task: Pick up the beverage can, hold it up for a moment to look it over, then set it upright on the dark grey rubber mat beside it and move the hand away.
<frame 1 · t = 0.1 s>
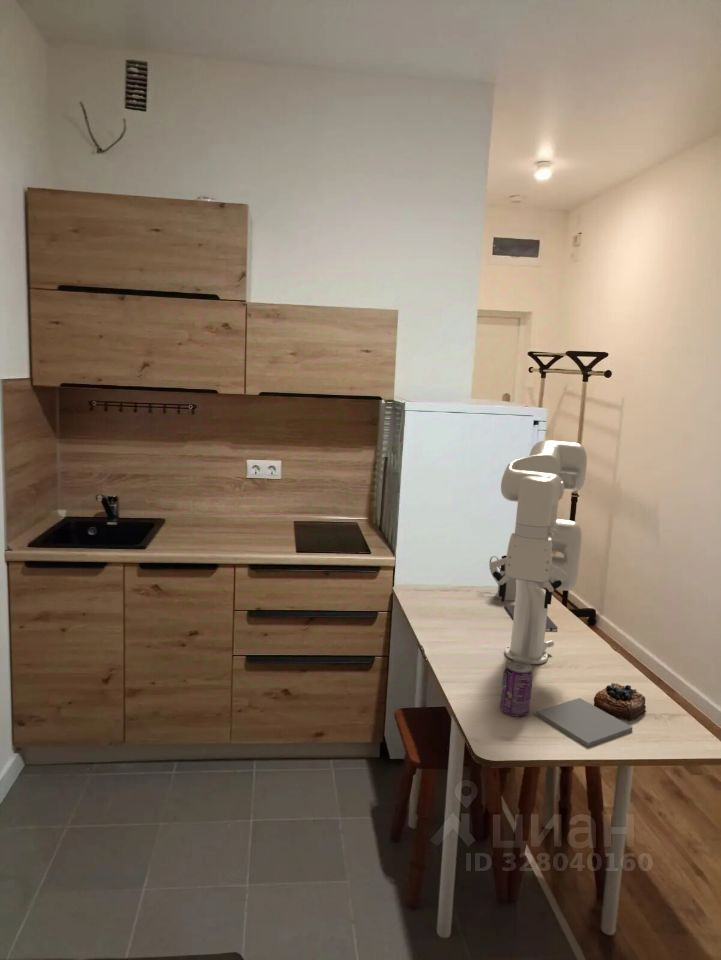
hand: (524, 603, 156), 31 cm above the table, tool pointing down, fingers open, 9 cm apart
beverage can: (514, 712, 169), on the table
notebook: (529, 620, 235), on the table
glass holder: (501, 594, 260), on the table
pastry: (619, 709, 174), on the table
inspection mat: (583, 722, 166), on the table
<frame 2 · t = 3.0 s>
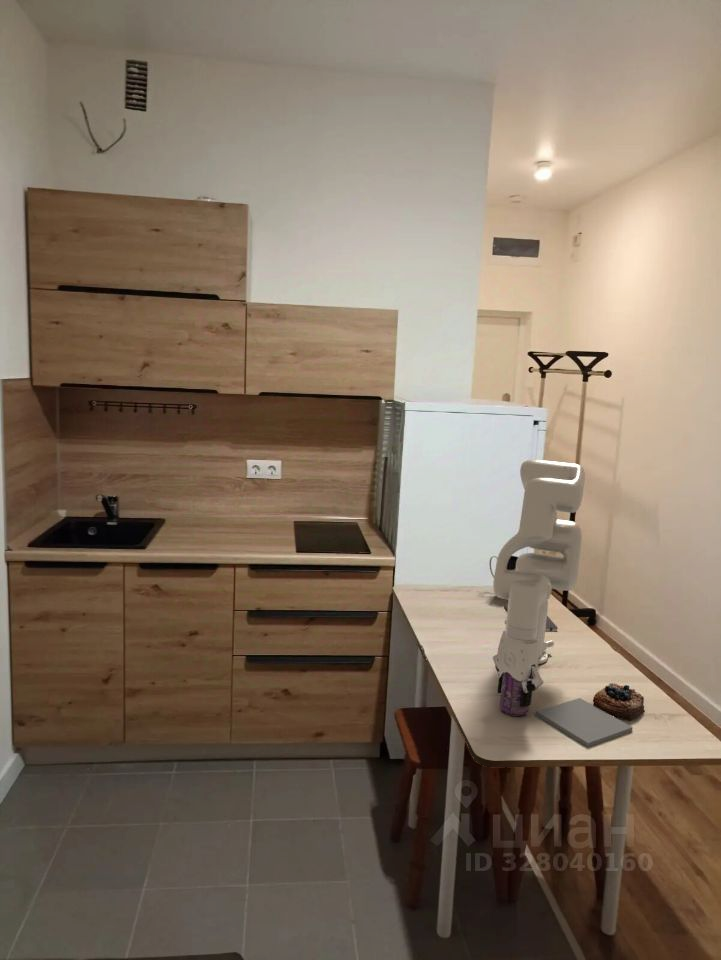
hand: (513, 698, 168), 3 cm above the table, tool pointing down, fingers closed on beverage can, 7 cm apart
beverage can: (513, 711, 169), on the table, touching gripper
everything else where it was.
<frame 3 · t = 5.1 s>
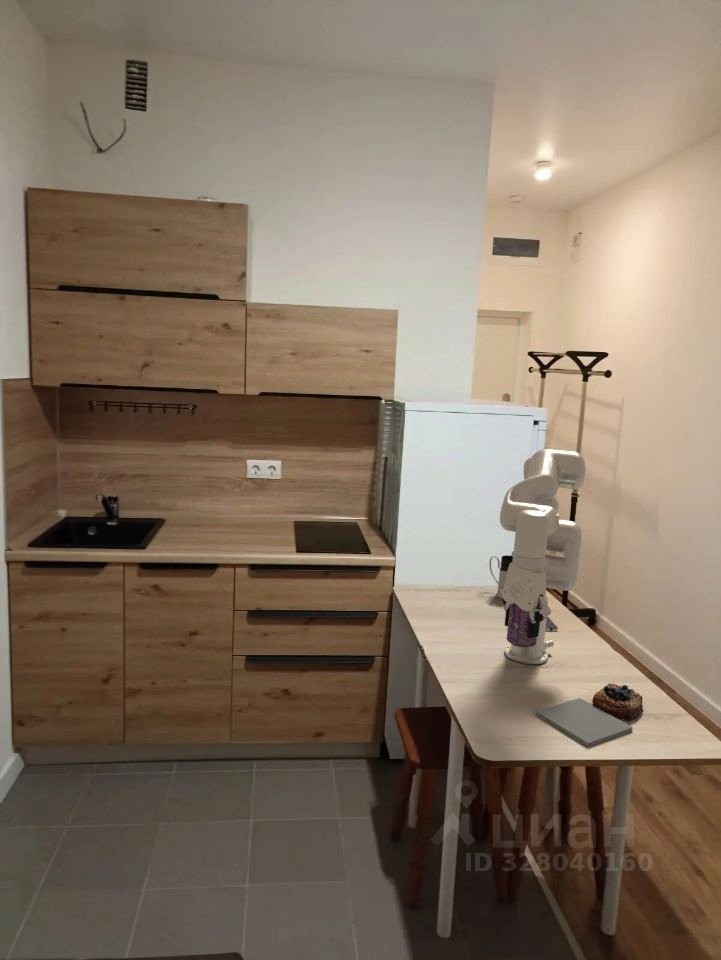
hand: (521, 630, 166), 21 cm above the table, tool pointing down, fingers closed on beverage can, 7 cm apart
beverage can: (520, 644, 167), point 17 cm above the table, touching gripper
everything else where it was.
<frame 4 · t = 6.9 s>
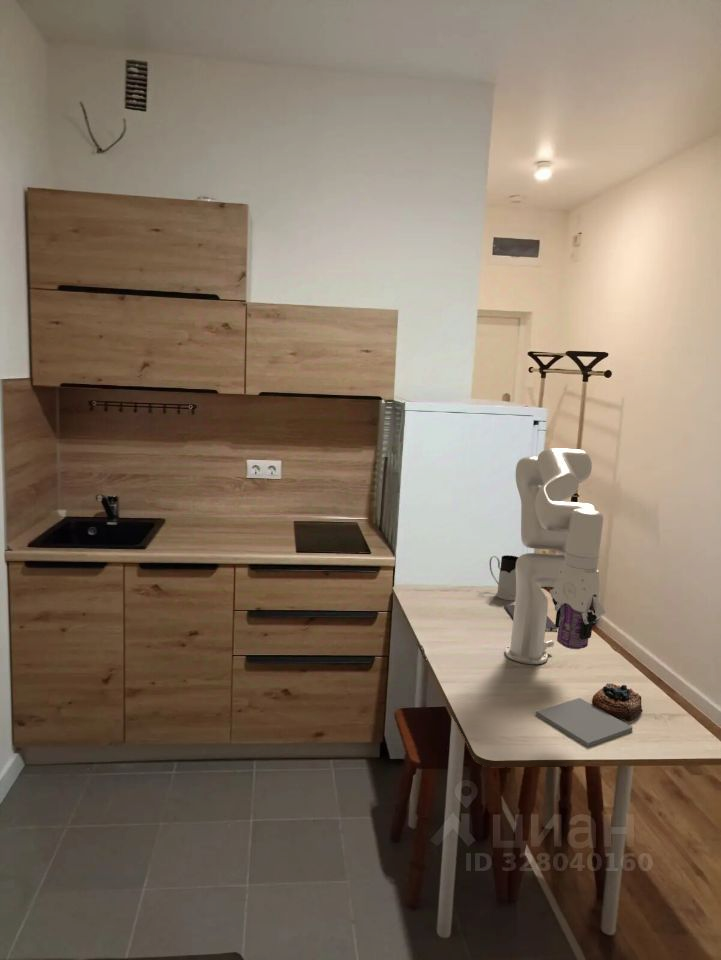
hand: (572, 631, 163), 23 cm above the table, tool pointing down, fingers closed on beverage can, 7 cm apart
beverage can: (571, 646, 164), point 19 cm above the table, touching gripper
everything else where it was.
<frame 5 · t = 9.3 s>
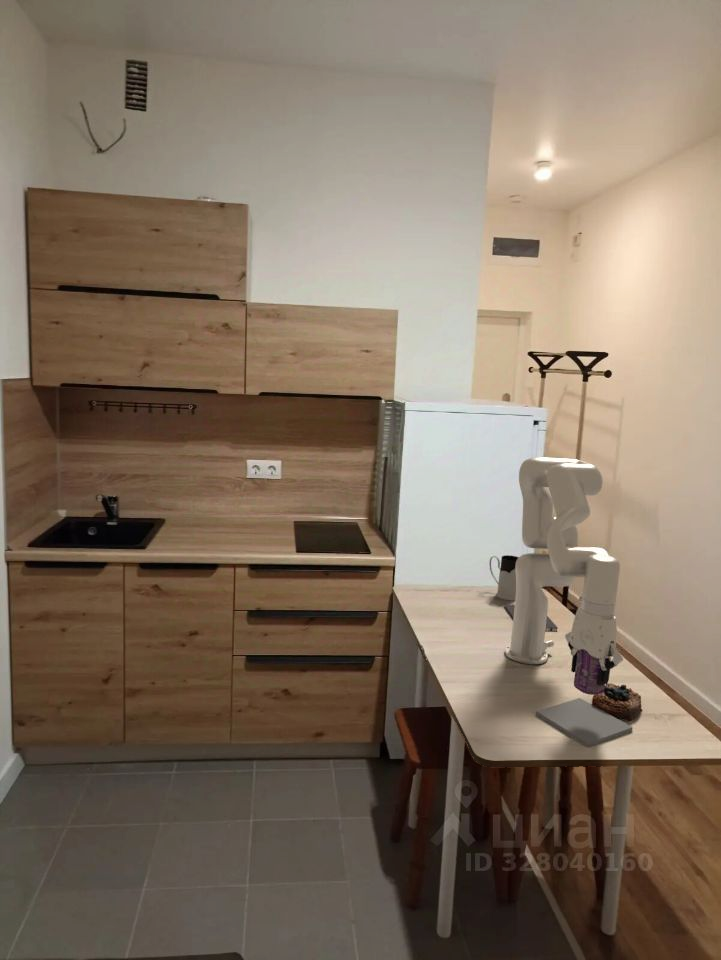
hand: (589, 676, 164), 12 cm above the table, tool pointing down, fingers closed on beverage can, 7 cm apart
beverage can: (588, 690, 164), point 8 cm above the table, touching gripper
everything else where it was.
when the fingers open (6 cm above the table, at t = 11.1 s): beverage can drops 1 cm, resting on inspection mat.
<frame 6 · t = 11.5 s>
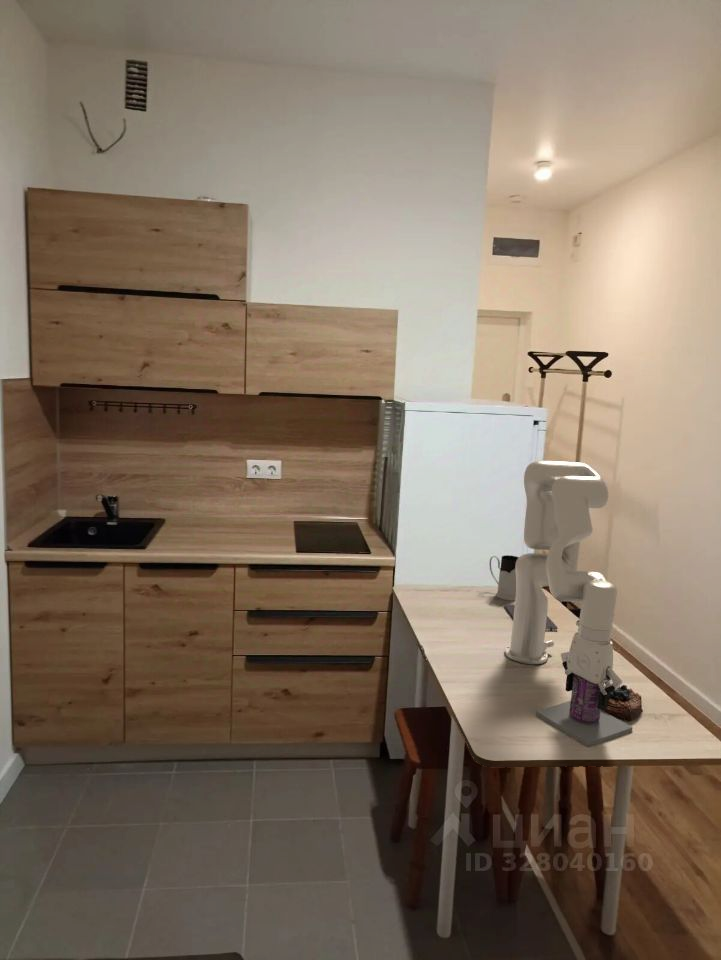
hand: (586, 698, 165), 6 cm above the table, tool pointing down, fingers open, 9 cm apart
beverage can: (583, 718, 166), point 1 cm above the table, touching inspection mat
everything else where it was.
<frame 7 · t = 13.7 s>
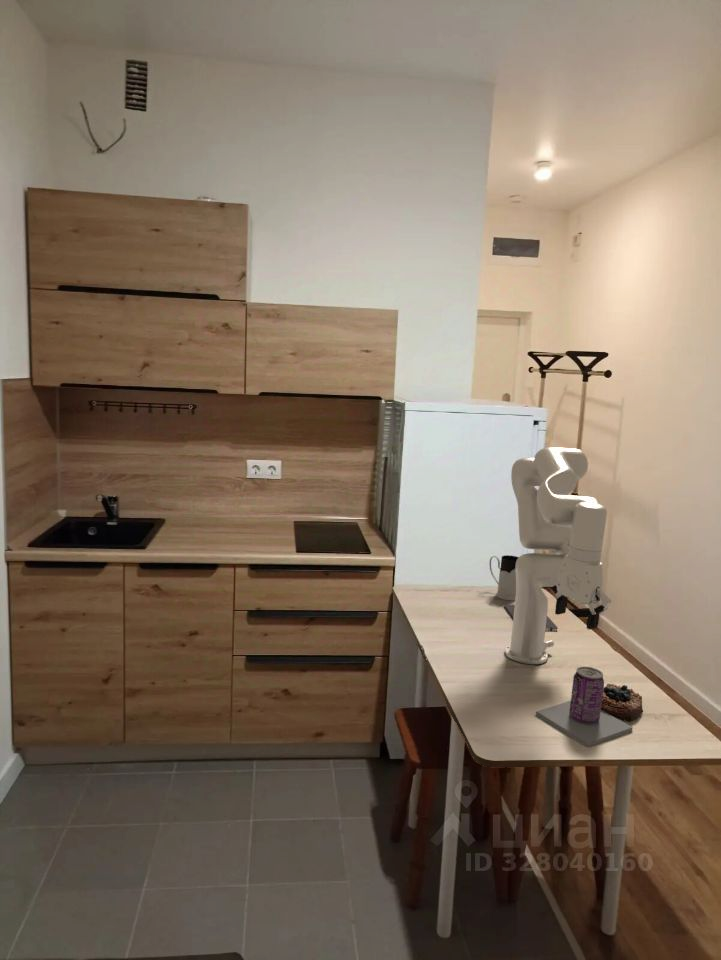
hand: (575, 620, 166), 24 cm above the table, tool pointing down, fingers open, 9 cm apart
nothing on the table moved.
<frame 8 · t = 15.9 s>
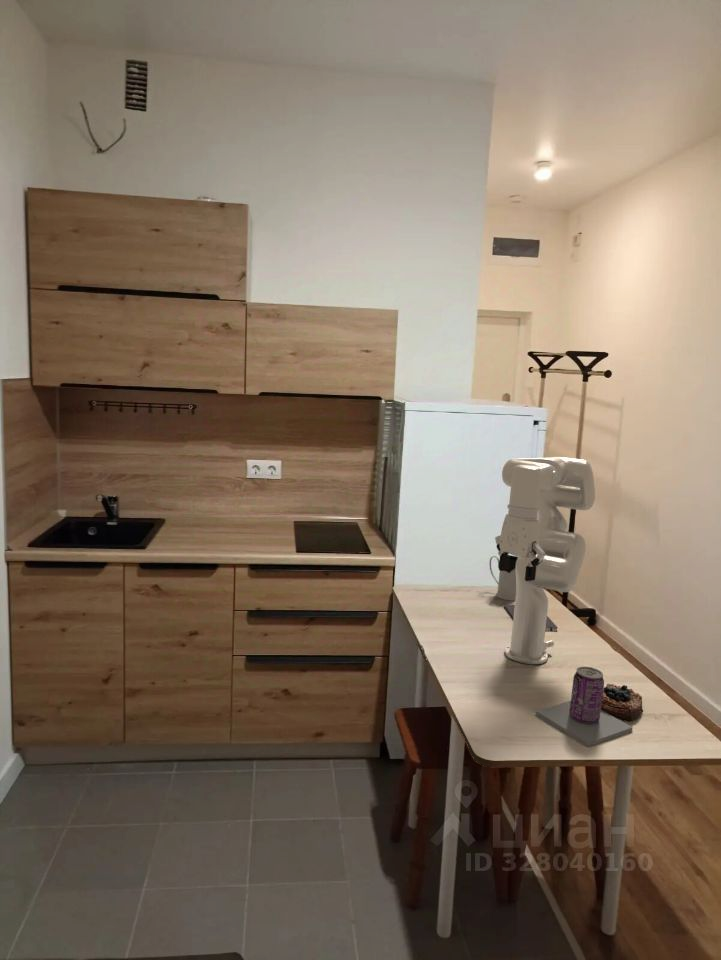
hand: (516, 575, 180), 30 cm above the table, tool pointing down, fingers open, 9 cm apart
nothing on the table moved.
at the end: beverage can inside the target area on the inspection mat (0.6 cm from its centre), point 0.8 cm above the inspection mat's base; beverage can tilted 0°; the gripper is holding nothing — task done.
